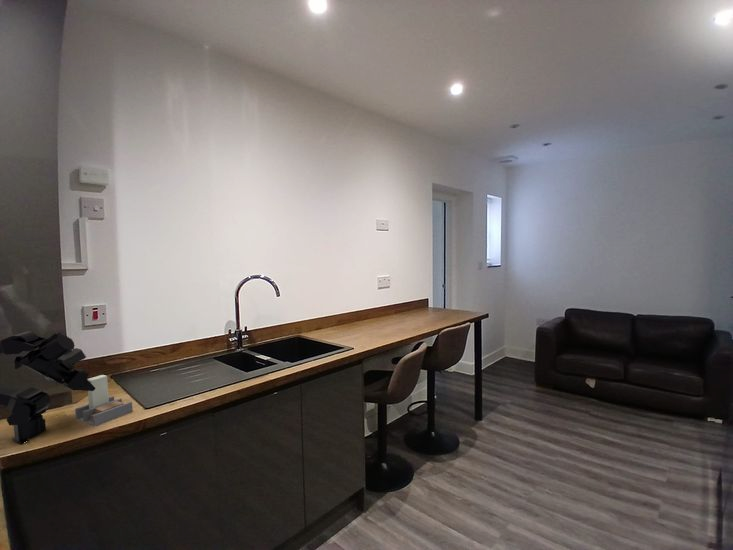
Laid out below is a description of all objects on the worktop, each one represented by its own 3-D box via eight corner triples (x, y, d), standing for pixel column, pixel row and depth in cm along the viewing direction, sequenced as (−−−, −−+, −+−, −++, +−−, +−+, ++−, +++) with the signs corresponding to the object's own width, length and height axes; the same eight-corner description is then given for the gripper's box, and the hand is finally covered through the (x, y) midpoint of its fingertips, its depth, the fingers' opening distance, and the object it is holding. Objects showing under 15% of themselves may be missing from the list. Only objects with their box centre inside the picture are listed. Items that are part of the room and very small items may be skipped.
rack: (95, 428, 121) (94, 416, 121) (76, 420, 127) (75, 408, 127) (132, 413, 132) (131, 402, 131) (113, 406, 138) (112, 395, 137)
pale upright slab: (94, 416, 128) (91, 380, 127) (89, 415, 129) (86, 379, 128) (109, 411, 132) (107, 375, 131) (105, 409, 134) (102, 374, 133)
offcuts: (97, 423, 123) (96, 412, 123) (90, 420, 125) (89, 410, 125) (125, 412, 131) (125, 402, 131) (118, 409, 133) (118, 400, 133)
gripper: (79, 346, 116) (119, 370, 127) (53, 339, 126) (92, 362, 136) (50, 378, 110) (94, 401, 121) (25, 368, 120) (68, 390, 130)
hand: (87, 387), depth 127 cm, fingers open, 9 cm apart
